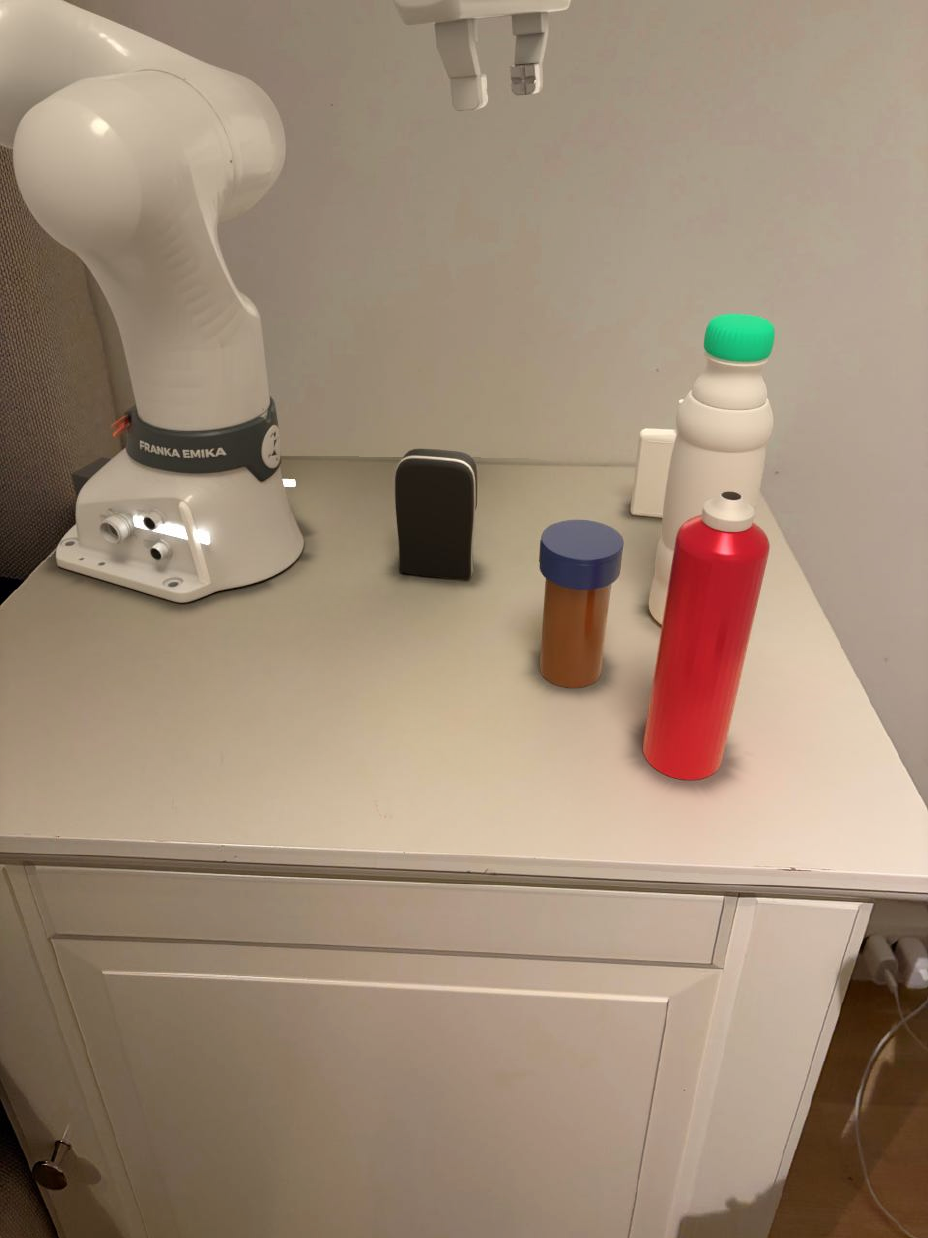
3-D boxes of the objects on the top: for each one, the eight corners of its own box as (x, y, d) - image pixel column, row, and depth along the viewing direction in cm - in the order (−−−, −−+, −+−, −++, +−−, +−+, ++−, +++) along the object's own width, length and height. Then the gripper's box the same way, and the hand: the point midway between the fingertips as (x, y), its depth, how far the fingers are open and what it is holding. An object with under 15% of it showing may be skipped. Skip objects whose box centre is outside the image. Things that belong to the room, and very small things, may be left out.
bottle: (737, 769, 64) (800, 509, 52) (668, 788, 62) (717, 524, 51) (694, 720, 68) (743, 469, 57) (628, 737, 66) (665, 482, 55)
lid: (531, 583, 66) (533, 553, 64) (545, 544, 70) (547, 515, 69) (615, 595, 65) (618, 564, 63) (623, 554, 69) (627, 524, 68)
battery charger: (478, 561, 86) (481, 446, 80) (472, 582, 83) (474, 465, 77) (405, 554, 87) (401, 440, 81) (396, 575, 84) (391, 458, 78)
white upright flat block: (629, 515, 94) (643, 401, 87) (630, 506, 95) (644, 394, 89) (710, 523, 93) (731, 408, 86) (710, 514, 94) (730, 400, 87)
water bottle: (733, 644, 76) (799, 339, 62) (645, 633, 77) (691, 331, 63) (730, 598, 81) (790, 309, 67) (649, 588, 83) (691, 302, 68)
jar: (534, 682, 71) (542, 557, 65) (545, 647, 75) (554, 525, 69) (596, 692, 70) (611, 566, 64) (604, 656, 74) (619, 533, 68)
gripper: (503, -147, 62) (516, 89, 70) (346, -185, 47) (384, 123, 54) (593, -165, 60) (597, 82, 67) (458, -211, 44) (482, 116, 52)
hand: (500, 101), depth 61 cm, fingers open, 8 cm apart
